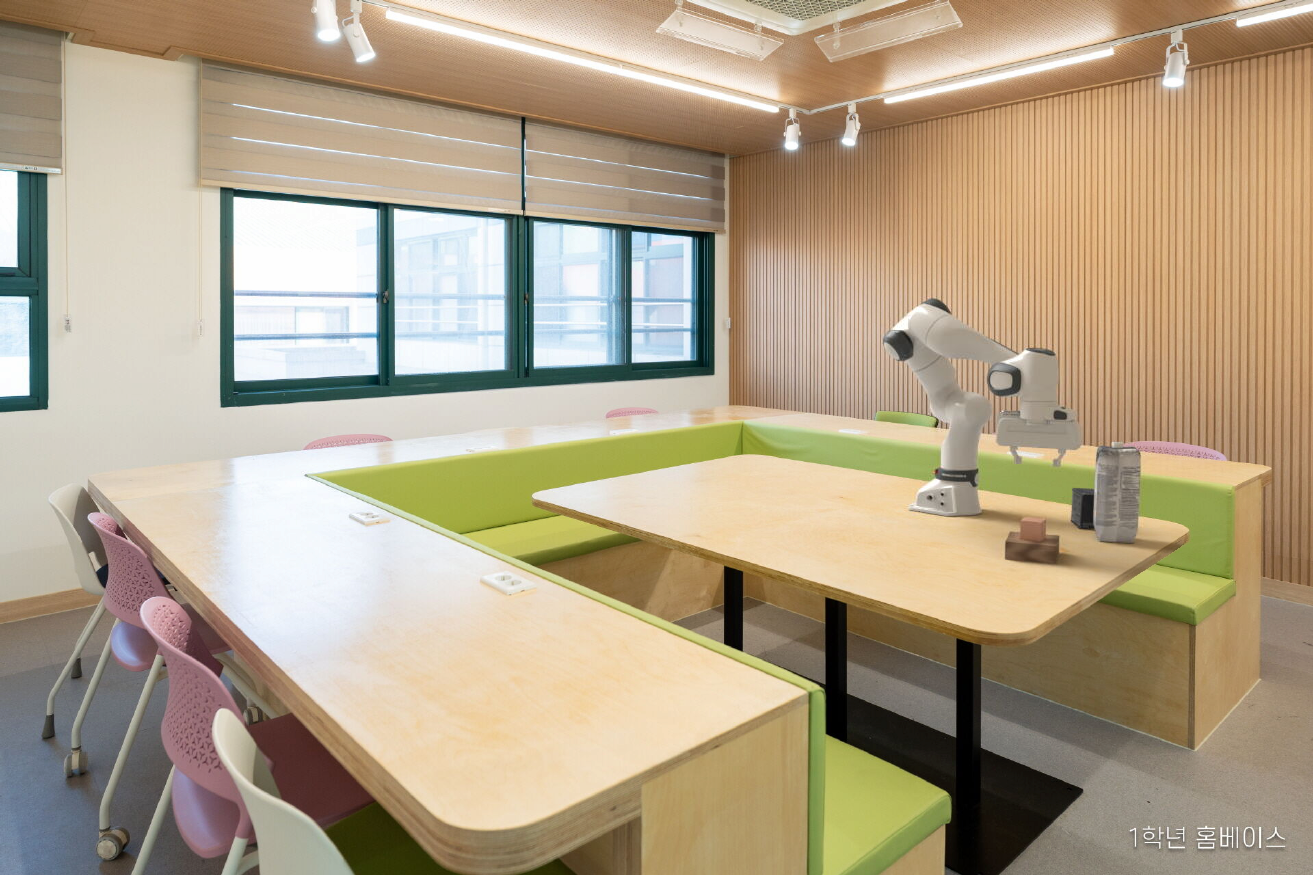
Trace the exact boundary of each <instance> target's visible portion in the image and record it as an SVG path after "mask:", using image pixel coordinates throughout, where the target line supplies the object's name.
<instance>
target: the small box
mask: <svg viewBox="0 0 1313 875" xmlns="http://www.w3.org/2000/svg"><path fill="white" fill-rule="evenodd" d="M1094 491H1095V488H1086V487H1085V488H1084V487H1083V488H1081V487H1072V488H1071V492H1072V494H1071V498H1072V499H1071V511H1070V512H1071V514H1070V522H1071V523H1072V524H1073V525H1074V526H1075V527H1077V528H1078V529H1079V530H1095V528H1094V522H1093V518H1094Z"/></svg>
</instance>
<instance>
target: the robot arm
mask: <svg viewBox="0 0 1313 875" xmlns="http://www.w3.org/2000/svg"><path fill="white" fill-rule="evenodd" d="M882 345H883V348H884V349H885V352H886V353H887V355H889V356H890V357H891V358H893V359H894V360H895V361H897V362H906V364H907V365H908V367H909V369H910V370H911V372H912V373H913V374H914V376H915V377H916V379H917V381H919V383H920V385H921V386H922V387H923V389H924V391H925V393H926V395H927V397H928V400H929V410H930V412H931V414H932V416H934V417H935V418H936V419H938V420H939V421H941V422H943V423H944V424H945V423H946V424H949V427H948V432H947V434H946V437H945V438H944V439H943V441H942V442H941V446H940V466H938V467H937V468H936V469H934V470H933V474H934V478H933V479H931V480H930V481H929V482H927V483H925V484H924V485H923V486H922V487H921V488H919V489H918V490H917V493H916V497H915V501H914V502H911V503H910V504H909V505H908V508H909V509H910V511H915V512H919V511H920V513H926V514H934V515H939V516H945V517H955V516H973V515H979V514H981V513H982V509H981V508H982V507H981V504H980V499H979V498H980V497H979V491H978V488H979V487H978V486H979V482H980V481H979V480H980V474H979V473H980V472H979V468H978V451H979V443H980V439H981V434H982V433H983V429H984V427H985V426H986V424H987V423H988V422H989V421H990V419H991V418H992V415H993V405H992V402H991V401H990V400H989V399H988V398H987V397H986V396H984V395H982V394H980V393H978V392H976V391H975V392H974V391H966V390H964V389H963V388H961V387H960V385H959V383H958V380H957V378H956V375H957V370H956V368H955V366H954V365H953V363H952V362H951V361H950V359H955V360H956V359H957V360H971V361H972V360H973V361H979V362H983V363H986V364H988V365H990V368H989V370H988V371H987V375H986V384H987V387H988V389H989V390H990V392H991V393H992V394H993V395H994V396H997V397H1001V398H1013V397H1015V398H1016V397H1019V398H1020V400H1019V401H1020V402H1019V410H1002V411H1001V412H999V413H998V414H997V415H996V425H997V429H996V435H995V442H996V444H997V446H999V447H1002V446H1003V447H1009V451H1010V453H1011V455H1012V456H1013V457H1014V459H1013V460H1014V462H1013V463H1014V464H1015V465H1017V464H1019V465H1020V464H1022V462H1023V461H1022V459H1023V456H1021V455H1019V454H1018V452H1017V450H1018V449H1019V447H1020V448H1032V449H1033V448H1036V449H1049V450H1050V449H1053V450H1057V454H1059V455H1058V457H1057V458H1054V459H1052V467H1055V468H1057V467H1061V464H1062V463H1061V462H1062V459H1063V458H1064V456H1065V455H1066V453H1067V450H1068V451H1069V450H1070V451H1071V450H1072V451H1077V450H1078V449H1080V448H1081V447H1082V445H1083V444H1082V443H1083V439H1082V438H1083V437H1082V429H1081V428H1082V427H1081V425H1080V423H1079V420H1076V419H1077V418H1078V411H1077V410H1076V409H1072V408H1070V407H1066V406H1063V405H1060V404H1059V403H1058V402H1059V397H1058V393H1057V389H1058V386H1059V380H1060V377H1059V375H1060V374H1059V371H1060V370H1059V362H1058V361H1059V360H1058V357H1057V354H1056V353H1055V352H1054V351H1053V350H1050V349H1047V348H1043V347H1041V348H1040V347H1027V348H1024V349H1023V350H1022V352H1021V353H1018V352H1016V351H1014V350H1013V349H1011V348H1009V347H1007V346H1005V345H1004V344H1002V343H1000V342H998V341H996V340H995V339H993V338H990V337H988V336H986V335H985V334H984V333H982V332H980V331H978V330H976V329H974V328H973V327H971V326H969V325H968V324H966V323H964V321H962V320H960V319H959V318H957V317H955V316H954V315H952V312H951V311H950V308H949V307H948V306H947V305H946V304H945V303H944V301H942V300H940V299H938V298H933V297H931V298H929V299H926V300H925V301H922V302H921V303H920V305H918V306H916V307H914V309H912V310H911V311H909V312H908V313H907V314H905V315H904V316H903V317H902V318H901V320H900V321H898V322H897V323H896V324H895V325H894V326H893V327H892V328H891V329H889V330H888V331H887V332H886V333H885V335H884V336H883V338H882ZM909 509H908V510H909Z"/></svg>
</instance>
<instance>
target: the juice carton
mask: <svg viewBox="0 0 1313 875" xmlns="http://www.w3.org/2000/svg"><path fill="white" fill-rule="evenodd" d="M1095 456H1096V457H1095V458H1096V459H1095V470H1094V471H1095V473H1094V489H1095V491H1094V518H1093V522H1094V528H1095V529H1094V531H1095V535H1096V538H1097V539H1098V542H1103V541H1104V542H1106V543H1119V544H1120V543H1122V544H1133V543H1134V542H1135V540H1136V537H1137V533H1138V529H1139V517H1140V516H1139V514H1140V510H1139V509H1140V497H1141V496H1140V495H1141V494H1140V493H1141V492H1140V491H1141V475H1142V474H1141V471H1142V468H1141V467H1142V464H1141V463H1142V462H1141V452H1140V450H1139V449H1138V448H1137V447H1135V446H1124V442H1122V441H1121V442H1120V441H1117V442H1116V441H1112V442H1111V446H1108V445H1106V446H1105V445H1099V446H1098V447H1097V449H1096V454H1095Z"/></svg>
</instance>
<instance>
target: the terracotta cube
mask: <svg viewBox="0 0 1313 875" xmlns="http://www.w3.org/2000/svg"><path fill="white" fill-rule="evenodd" d="M1019 523H1020V524H1019V525H1020V526H1019V527H1020V529H1019V532H1020V539H1023V540H1031V541H1039V542H1041V541H1042V540H1043V539H1045V538H1046V534H1047V518H1043V517H1042V518H1041V517H1033V516H1025V517H1023V518H1022V519H1020V522H1019Z"/></svg>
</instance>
